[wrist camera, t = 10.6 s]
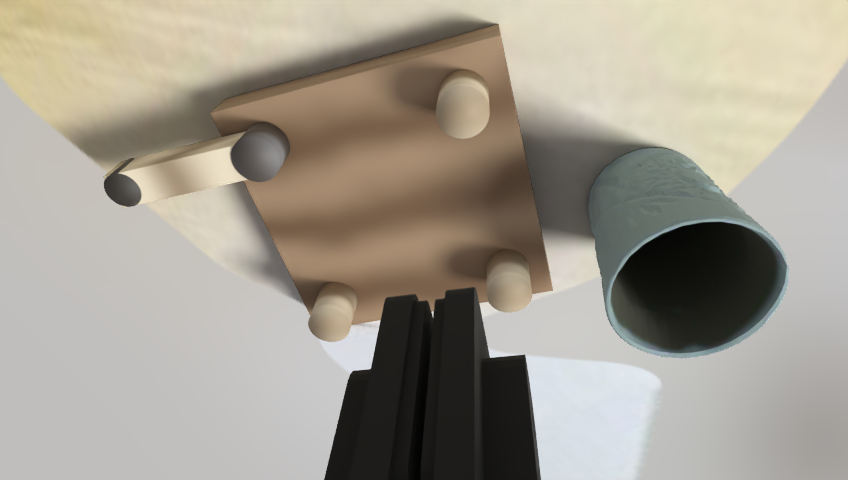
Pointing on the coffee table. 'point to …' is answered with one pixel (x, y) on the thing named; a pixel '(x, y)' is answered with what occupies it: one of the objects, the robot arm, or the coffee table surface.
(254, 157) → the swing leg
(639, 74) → the coffee table surface
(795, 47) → the coffee table surface
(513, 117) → the stool seat
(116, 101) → the coffee table surface
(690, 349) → the teal cup
